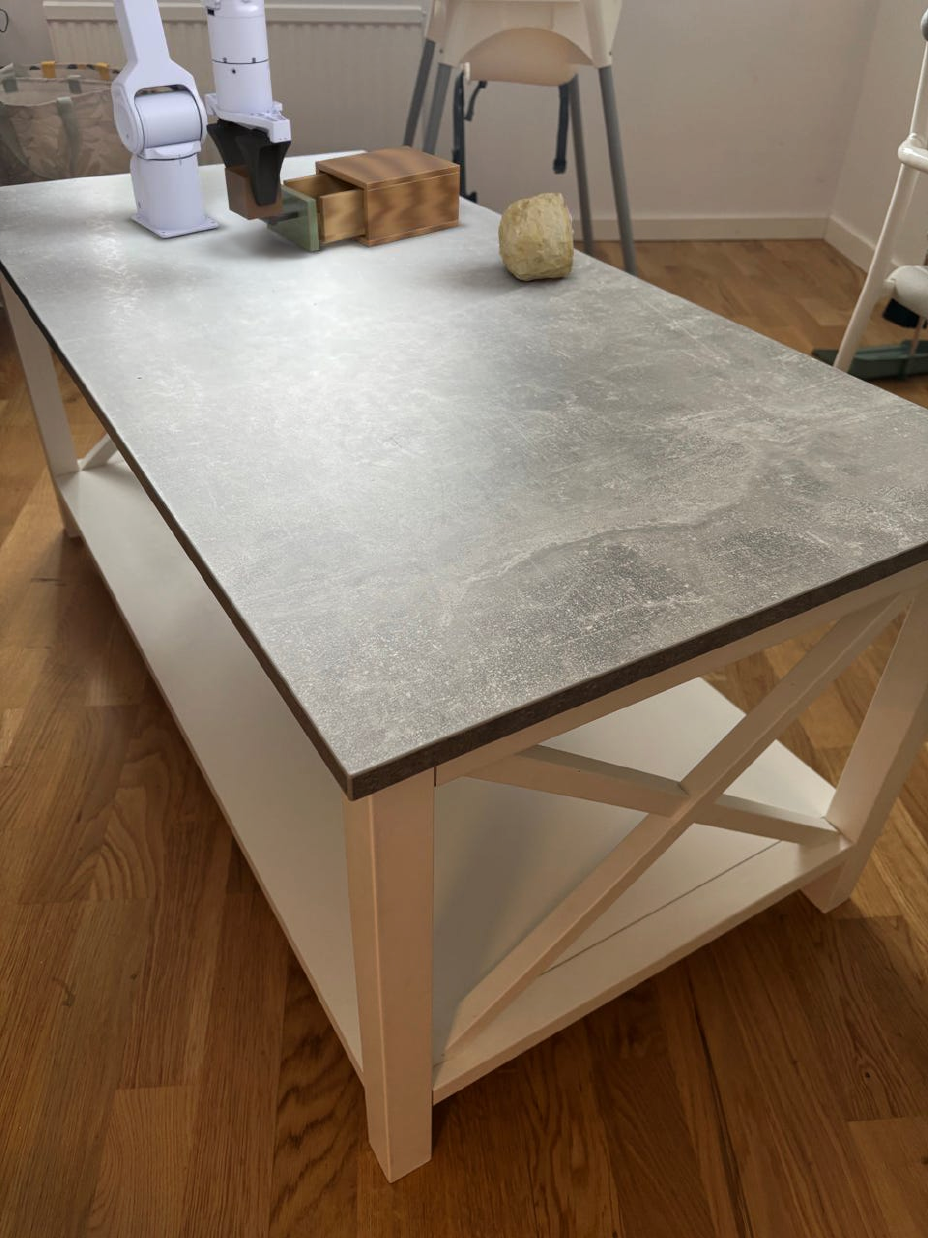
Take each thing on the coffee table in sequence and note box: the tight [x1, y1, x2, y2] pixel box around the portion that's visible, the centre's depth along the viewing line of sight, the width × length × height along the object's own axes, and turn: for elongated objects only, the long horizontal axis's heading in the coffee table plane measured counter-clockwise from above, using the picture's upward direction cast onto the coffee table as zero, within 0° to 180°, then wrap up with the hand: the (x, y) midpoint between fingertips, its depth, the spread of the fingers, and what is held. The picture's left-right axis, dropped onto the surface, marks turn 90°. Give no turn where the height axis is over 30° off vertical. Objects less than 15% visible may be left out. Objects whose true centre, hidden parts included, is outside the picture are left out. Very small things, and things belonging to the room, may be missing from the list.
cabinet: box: [314, 145, 461, 248], centre depth 125 cm, size 15×12×8 cm
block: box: [224, 165, 283, 221], centre depth 106 cm, size 4×4×4 cm
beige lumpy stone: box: [497, 192, 575, 282], centre depth 112 cm, size 10×10×10 cm
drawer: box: [258, 172, 365, 252], centre depth 120 cm, size 18×10×6 cm, turn 129°
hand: (255, 198), depth 106 cm, fingers closed on block, 4 cm apart
